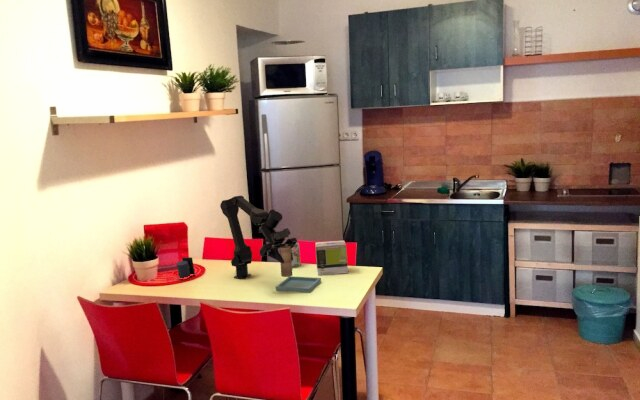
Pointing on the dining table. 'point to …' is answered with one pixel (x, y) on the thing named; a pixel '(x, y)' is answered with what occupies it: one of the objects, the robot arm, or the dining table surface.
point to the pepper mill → (286, 261)
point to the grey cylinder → (296, 255)
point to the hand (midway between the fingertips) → (288, 261)
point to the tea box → (331, 257)
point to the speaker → (185, 267)
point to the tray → (298, 284)
